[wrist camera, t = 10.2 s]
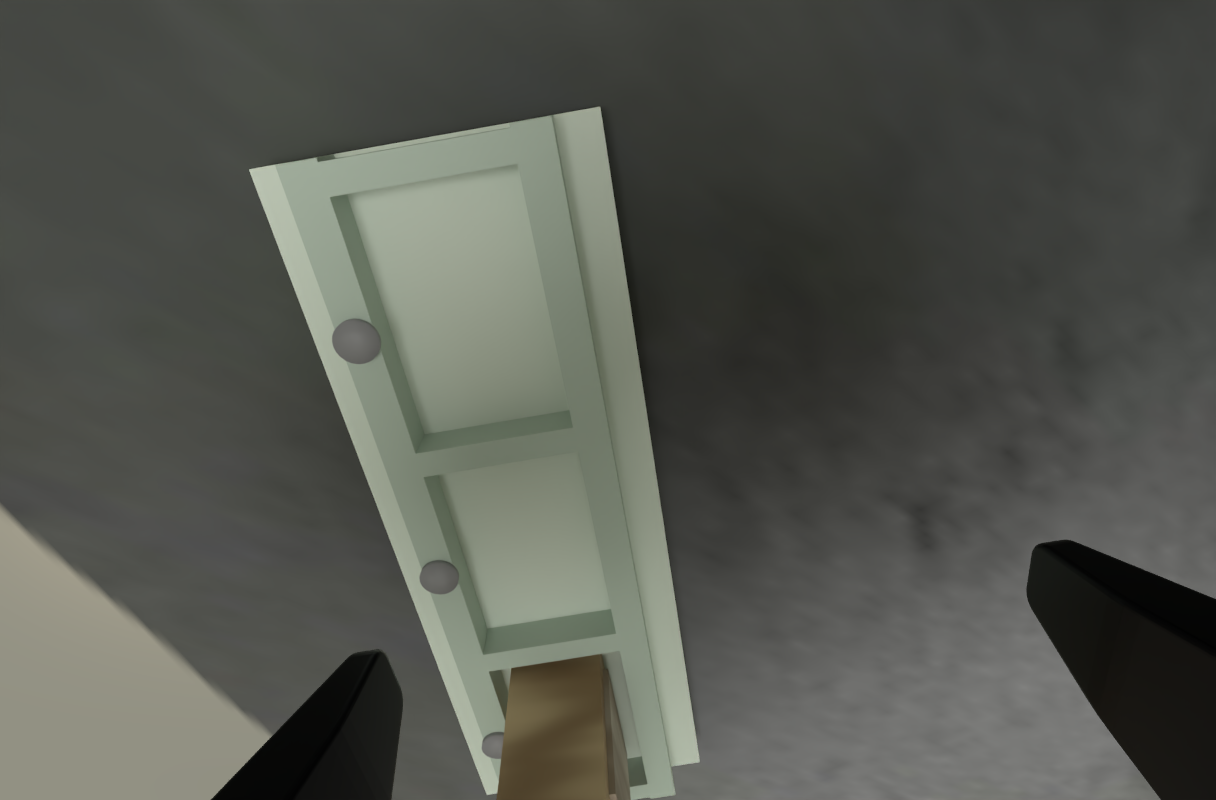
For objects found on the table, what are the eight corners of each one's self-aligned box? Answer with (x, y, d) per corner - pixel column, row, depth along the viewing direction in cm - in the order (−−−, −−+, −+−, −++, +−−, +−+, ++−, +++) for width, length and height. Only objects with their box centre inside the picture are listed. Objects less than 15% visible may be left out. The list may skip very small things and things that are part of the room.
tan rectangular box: (603, 639, 23) (613, 802, 18) (627, 748, 26) (642, 919, 20) (512, 654, 23) (494, 820, 18) (545, 760, 26) (537, 935, 20)
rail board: (598, 106, 17) (602, 106, 15) (694, 736, 27) (706, 795, 25) (269, 165, 17) (221, 175, 15) (490, 767, 28) (482, 829, 25)
